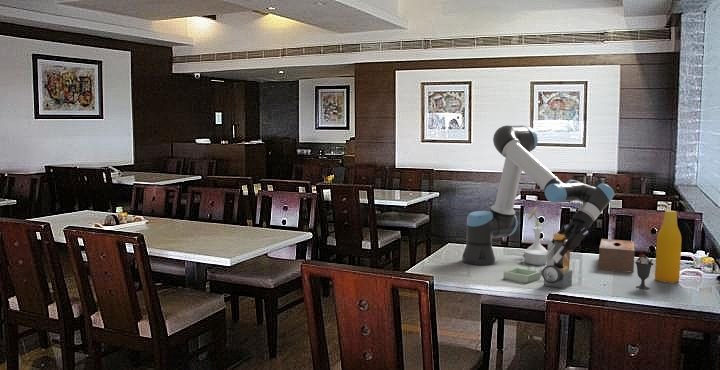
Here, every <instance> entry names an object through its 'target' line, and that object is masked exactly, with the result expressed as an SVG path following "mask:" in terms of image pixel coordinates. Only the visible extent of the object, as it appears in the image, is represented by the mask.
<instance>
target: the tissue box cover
mask: <svg viewBox="0 0 720 370" xmlns="http://www.w3.org/2000/svg"><path fill="white" fill-rule="evenodd" d="M635 248H636V247H635V241H634V240H622V239H621V240H620V239H609V238H608V239H607V238H601V240H600V244H599V248H598V250H599V251H598V267H597V269H598V270H602V271H603V270H604V271H613V270H614V271H615V272H622V271H631V272H630V273H634V271H635V270H634V269H635V268H634V266H635V253H636V252H635Z"/></svg>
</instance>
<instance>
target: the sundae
mask: <svg viewBox="0 0 720 370" xmlns="http://www.w3.org/2000/svg"><path fill="white" fill-rule="evenodd" d="M637 251H638V252H639V255H638V258H637V259H636V261H634V264H636V272H637V276H638V278H640V280H641V281H640V284H639V285H637V286H635V288H636V289H638V288H639V290H644V289H646V291H647V290H650V287H648V286H647V285H646V283H645V282H646V281H645V280H646V279H648V278H649V277H650V273H651V268H652V266H654V265H655V264H654V263H653V259H654V258H651V259H650V258H649V257H648V256H646V255H645V254H644V253H643V252H642V251H641V250H640V249H639V250H637Z"/></svg>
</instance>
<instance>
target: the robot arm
mask: <svg viewBox="0 0 720 370" xmlns="http://www.w3.org/2000/svg"><path fill="white" fill-rule="evenodd" d="M538 140H539V139H538V134H537V133H536V131H535V129H533V128H532V127H530V126H527V125H503V126H500V127H499V128H498V129H496V130H495V132H494V134H493V137H492V142H493V146H494V148H495V149H496V151H497V152H498V153H500V155H502V157H504V158H505V160H504V163H503V168H502V173H501V177H500V181H499V185H498V189H497V194H496V199H495V202H494V204H493V205H492V206H490V210H477V211H476V210H475V211H472V212H470V213H468V215H467V217H466V245H465V248H464V251H463V253H462V256H461V261H462V263H464V264H467V263H468V264H467V265H473V264H474V266H490V265H494V264H495V263H496V256H495V253H494V249H493V247H492V246H493V244H492V243H493V239H497V238H505V237H509V236H511V235H513V234H514V233H515V232H516V230H517V228H518V225H519V220H518V218H517V215H516V210H514V207H515V202H516V198H517V193H518V189H519V187H520V186H519V185H520V180H521V176H522V172H523V173H524V174H525V175H526V176H528V177H529V178H530V179H531V180H532V181H533V182H534V183H536V184H537V186H538V187H540V189H542V190H543V191H544V196H545V198H546V200H547V201H549V202H550V203H556V204H557V203H558V204H559V203H566V202H575V201H577V202H581V203H582V205H581V206H580V207H579V209H578V211H576V212H575V214H574V215H573V216H572V220H571V221H570V222H569V223H568V224H565V223H563V224H562V225H561V227H560V229H559V231H557V233H559V234H566V240H567V242H566V243H565V244H563V246H564V247H563V246H562V247H561V248H560V249H559V250H558V252H557V253H556V254H555V255H554V247H555V240H554V237H553V238H552V239H553V240H552V239H551V240H552V243H553V246H552V247H551V248H550V250H549V252H548V253H547V254H546V255H545V257H546V258H547V259H548V261H550V260H551V259H553V260H554V261H555V262H556V263H558V261H559V260H560V259H561V258H562V256H564V255H565V254H566V252H567V251H569V250H570V251H574V250H575V249H576V248H577V247H578V246H579V244H580V243H581V242H582V241H583V240H584V238H586V237H587V236H588V235H589V234H590V231H589V230H588V229H590V227H591V226H592V225H593V223H594V222H595V221H596V220H597V219H598V217H599V216H600V215H601V213H602V212H603V210H605V208H606V207H607V206H608V205H609V204H610V203H611V201H612V200H613V198H614V197H615V191H614V189H613V188H612V187H611V186H610V185H608V184H606V183H599V184H598V185H597V186H596V187H595V186H592V185H589V184H586V183H584V182H581V181H579V180H575V179H569V180H568V181H566V182H565V183H564V182H563V181H562V180H560V179H559V178H558V176H555V174H553V173H552V171H550V170H549V169H548V168H547V167H546V166H545V165H543V164H542V162H540V161H539V160H538V159H537V158H536V157H535V156H533V154H531V152H532V151H534V149H536V147H537V145H538V142H539V141H538ZM566 240H564V242H565V241H566Z"/></svg>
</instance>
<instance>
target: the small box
mask: <svg viewBox="0 0 720 370" xmlns="http://www.w3.org/2000/svg"><path fill="white" fill-rule="evenodd" d="M552 240H553V238H552V239H548V240H547V253H548V252H549V250H550V248H551V247H552V246H553V243H552ZM567 240H568V239H567ZM567 240H566V241H565V242H564V244H565V243H566V242H567ZM570 258H571V250H569V251H567V252H566V254H565V255H564V258H563V266H567V267H569V268H570V260H571V259H570ZM549 265H554V260H553V259H551V260H550V261H548V259H547V263H546V266H549Z"/></svg>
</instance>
